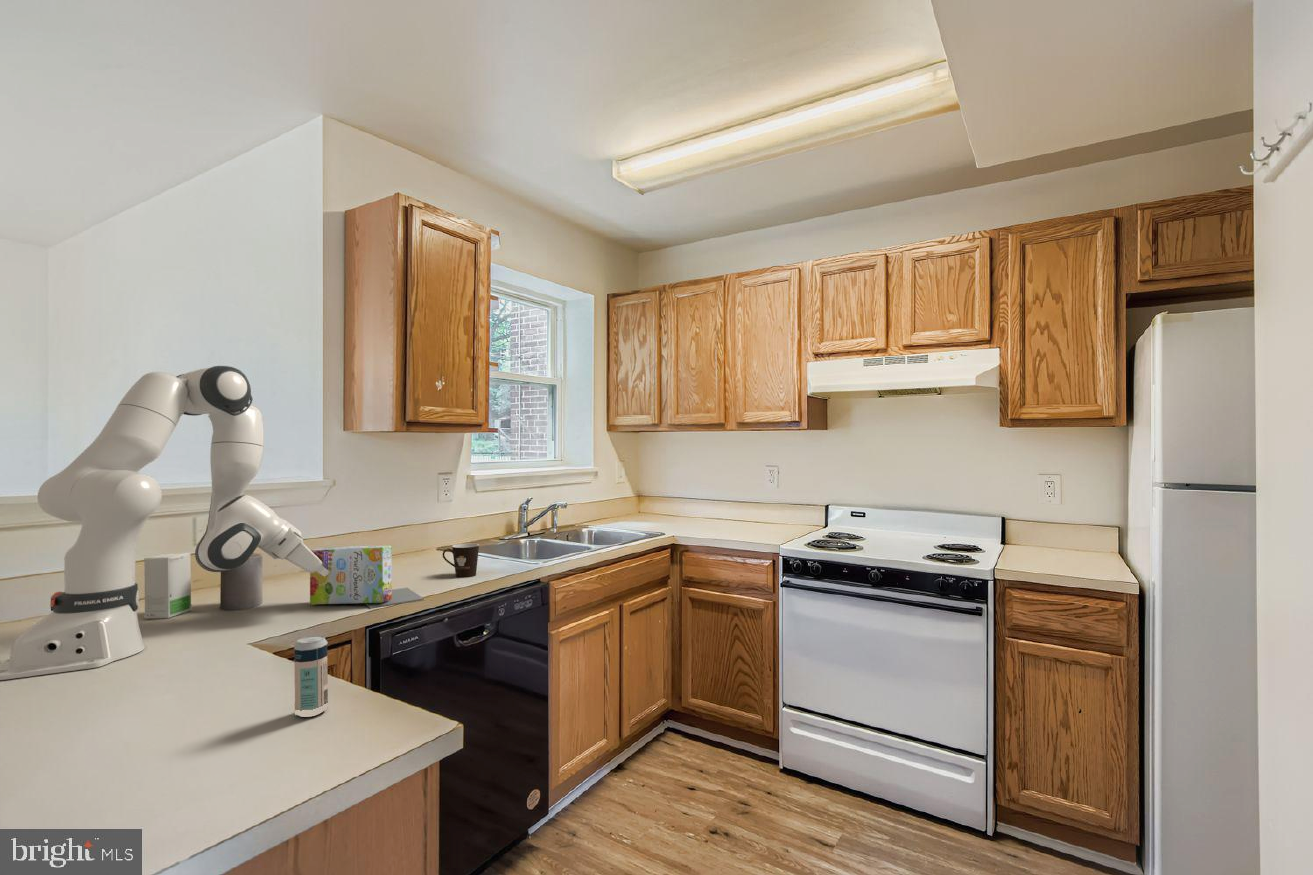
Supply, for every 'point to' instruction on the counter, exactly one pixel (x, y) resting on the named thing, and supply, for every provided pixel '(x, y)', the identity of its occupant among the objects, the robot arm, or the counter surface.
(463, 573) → the coffee mug
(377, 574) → the snack box
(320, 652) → the supplement bottle
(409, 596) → the mat
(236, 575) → the pillar candle
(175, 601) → the skincare box
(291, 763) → the counter surface
